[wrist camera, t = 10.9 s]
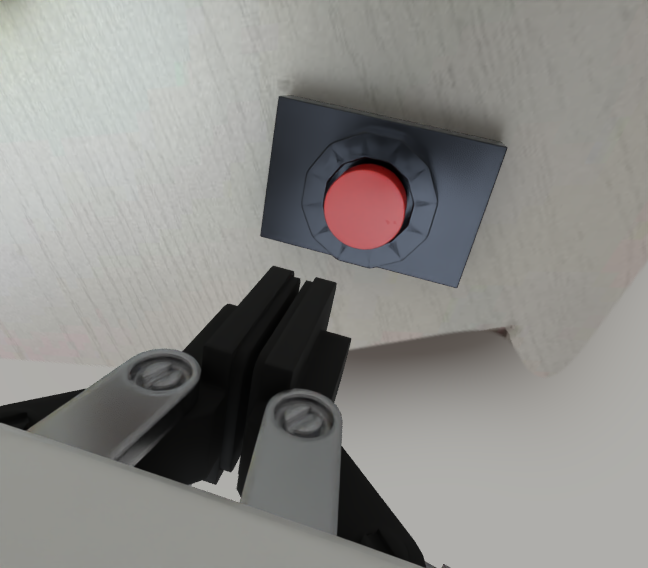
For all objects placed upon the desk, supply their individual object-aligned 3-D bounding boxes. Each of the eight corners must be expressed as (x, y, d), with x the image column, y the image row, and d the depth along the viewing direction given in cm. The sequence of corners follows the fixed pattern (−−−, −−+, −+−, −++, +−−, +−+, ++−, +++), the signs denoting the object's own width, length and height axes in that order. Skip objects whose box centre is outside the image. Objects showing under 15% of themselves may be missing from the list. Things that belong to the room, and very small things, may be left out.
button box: (502, 142, 24) (513, 152, 21) (455, 273, 28) (458, 302, 24) (290, 94, 26) (267, 97, 22) (271, 226, 29) (248, 246, 26)
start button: (416, 173, 22) (415, 180, 21) (395, 247, 24) (393, 258, 23) (339, 155, 23) (332, 160, 21) (324, 228, 25) (316, 238, 23)
